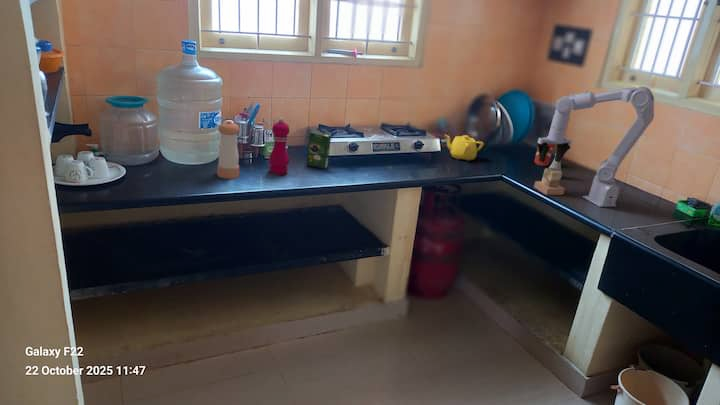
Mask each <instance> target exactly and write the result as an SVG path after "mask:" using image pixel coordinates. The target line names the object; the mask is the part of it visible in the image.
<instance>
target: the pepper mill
mask: <svg viewBox="0 0 720 405" xmlns="http://www.w3.org/2000/svg"><path fill="white" fill-rule="evenodd" d="M271 129H272V130H271V131H272V134H274V135H273V136H272V137H273V138H272V139H273V140H274V142H273V147H272V148H273V149H272V150H271V152H270V154H269V158H268V163H269V164H270V166H269V172H270V173H271V174H273V175H279V176H282V175H286V174H288V165H289V164H290V156H289V154H288V151H287V141H288V138H289V137H288V135H289V134H290V127H289V124H287V123H286V122H285V120H284V118H283V117H280V118H279V119H278V122H275V123H274V124H273V125H272V128H271Z"/></svg>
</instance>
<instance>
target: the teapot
mask: <svg viewBox="0 0 720 405" xmlns="http://www.w3.org/2000/svg"><path fill="white" fill-rule="evenodd" d="M444 136H445V138H446V140H447V141H446V146H447V149H448V150H449V153H450V155H451V157H452V158H454V159H455V160H460V159H461V160H465V161H468V162H469V161H470V162H471V161H474V160H475V159H476V157H477V153H478V151H480V150H481V149H482V148H483V147H484V145H485V144H484V142H483V141H476V140H475V139H474V138H473V137H470V136H469V135H466V134H465V135H461V136H459V135H457V136H456V135H455V137H454V139H453V140H452V142H451V137H450V136H449V135H447V134H444ZM477 144H479V145H478V147H477Z"/></svg>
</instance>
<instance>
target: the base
mask: <svg viewBox="0 0 720 405" xmlns="http://www.w3.org/2000/svg"><path fill="white" fill-rule="evenodd" d="M541 182H542V180H536V181H535V182H534V185H533V188H534V189H536V190H537V191H539V192H541V193H542V194H544V195H546V196H561V195H562V196H563V195H564V194H565V190H566V188H565V187H564V186H561V185H560V184H559V185H558V187H548V186H546V185H544V184H543V183H541Z"/></svg>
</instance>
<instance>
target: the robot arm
mask: <svg viewBox="0 0 720 405" xmlns="http://www.w3.org/2000/svg"><path fill="white" fill-rule="evenodd" d="M613 101H623V102H625V103H629V102H630V103H631V105H632V107H633V108H634V109H635V112H636V116H637V118H636V119H635V120H634V122H633V124H632V125H631V126H630V127H629V129H628V130H627V132H626V133H625V134H624V136H623V138H622V139H621V140H620V142H619V143H618V144H617V146H616V147H615V148H614V149H613V151H612V152H611V154H610V155H609V156H608V157H607V159H606V160H603V161H602V162H601V163H600V164H599V167H598V168H597V170H596V175H594V178H593V180H592V183H591V187H590V191H589V192H588V193H589V194H588V195H583V196H582V198H583V199H585V200H587V201H589V202H591V203H593V205H596V206H598V207H599V208H602V207H603V208H607V207H617V205H616V202H617V198H618V196H619V192H620V188H619V186H618V185H617V184H616V179H615V177H616V173H617V172H618V169H619V167H620V165H621V164H622V162H623V161H624V159H625V158H626V157H627V155H628V154H629V153H630V151H631V149H633V148H634V147H635V145H636V143H637V142H638V141H639V139H640V138H641V136H642V135H643V134H644V132H645V131H646V130H647V128H648V127H649V125H651V123H652V122H653V120H654V117H655V97H654V95H653V92H652V91H651V89H650V88H649V87H647V86H639V87H637V88H636V87H627V88H620V89H615V90H610V91H606V92H601V93H597V94H595V93H594V92H593V91H588V90H584V91H583V93H578V94H577V93H576V94H573V93H570V94H569V95H565V96H562V97H560V98H559V99H557V101H556V103H555V111H554V114H553V117H552V121H551V124H550V129H549V132H548V135H547V136H545V137H544V138H543V137H538V139H537V149H539V161H541V162H544V161H545V158H546V155H547V152H548V150H549V149H550V147H549V146H548V145H547V144H554V145H556V151H555V153H556V156H555V155H554V158H555V161H556V162H560V160H561V161H562V159H563V157H564V156H565V154H566V153H567V152H568V151H569V150H570V149H571V145H572V142H573V140H572V139H571V138H566V137H565V136H566V132H567V128H568V124H569V123H570V122H569V121H570V116H571V112H572V111H580V110H585V109H591V108H593V107H594V106H595V105H596V104H600V103H605V102H606V103H607V102H613Z"/></svg>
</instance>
